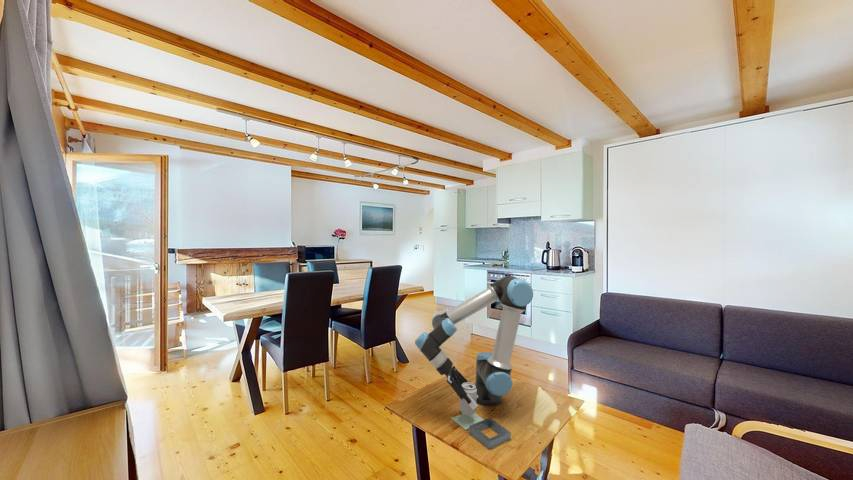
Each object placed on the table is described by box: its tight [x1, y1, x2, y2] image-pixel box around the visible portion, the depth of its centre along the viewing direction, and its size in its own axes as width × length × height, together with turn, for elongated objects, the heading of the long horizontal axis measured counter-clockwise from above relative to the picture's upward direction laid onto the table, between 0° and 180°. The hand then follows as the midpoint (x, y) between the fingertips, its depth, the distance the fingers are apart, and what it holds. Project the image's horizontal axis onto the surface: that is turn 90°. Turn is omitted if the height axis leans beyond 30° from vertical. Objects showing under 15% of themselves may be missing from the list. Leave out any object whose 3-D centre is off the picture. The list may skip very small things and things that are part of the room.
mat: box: [451, 412, 485, 431], centre depth 142 cm, size 12×10×1 cm
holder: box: [468, 417, 512, 450], centre depth 131 cm, size 12×12×3 cm
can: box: [458, 381, 477, 415], centre depth 142 cm, size 8×8×12 cm
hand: (475, 402), depth 141 cm, fingers closed on can, 7 cm apart
